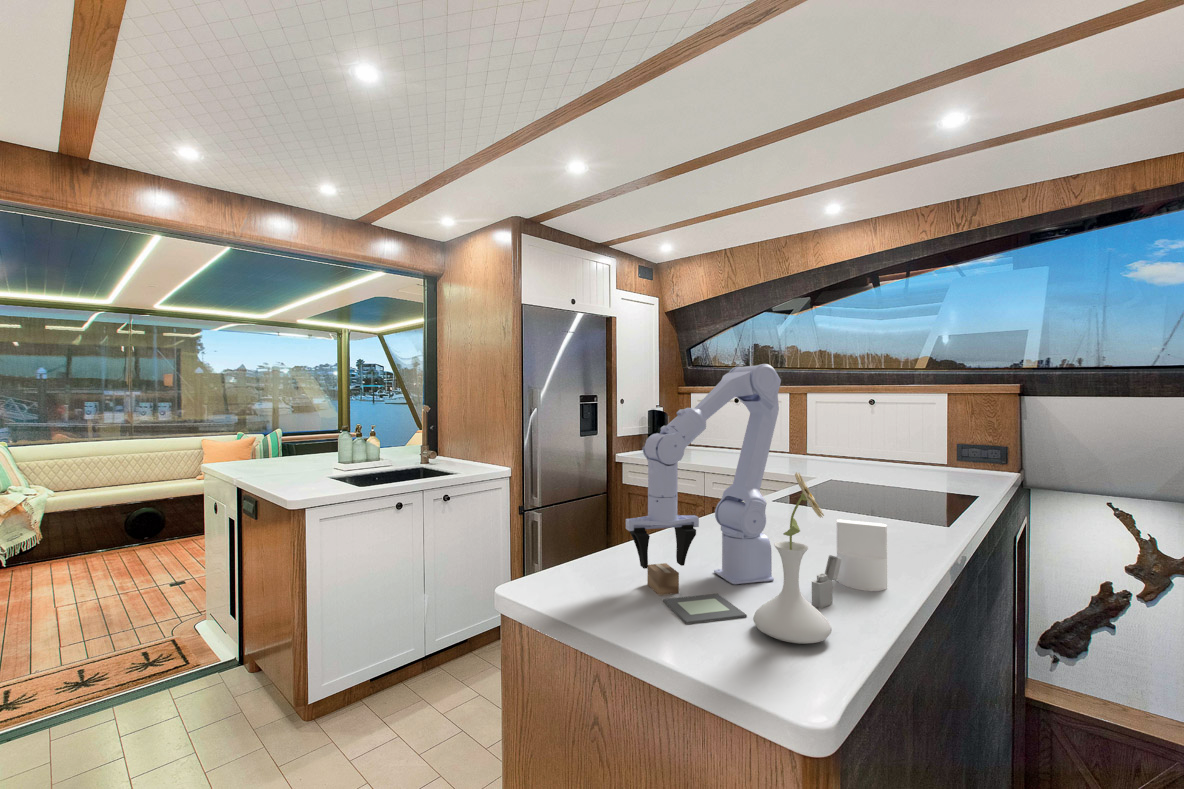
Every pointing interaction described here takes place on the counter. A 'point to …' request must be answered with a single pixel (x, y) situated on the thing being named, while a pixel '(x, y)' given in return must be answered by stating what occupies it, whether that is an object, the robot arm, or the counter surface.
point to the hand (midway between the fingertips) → (662, 565)
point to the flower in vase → (793, 592)
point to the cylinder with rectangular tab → (862, 554)
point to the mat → (703, 608)
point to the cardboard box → (663, 579)
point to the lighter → (825, 583)
